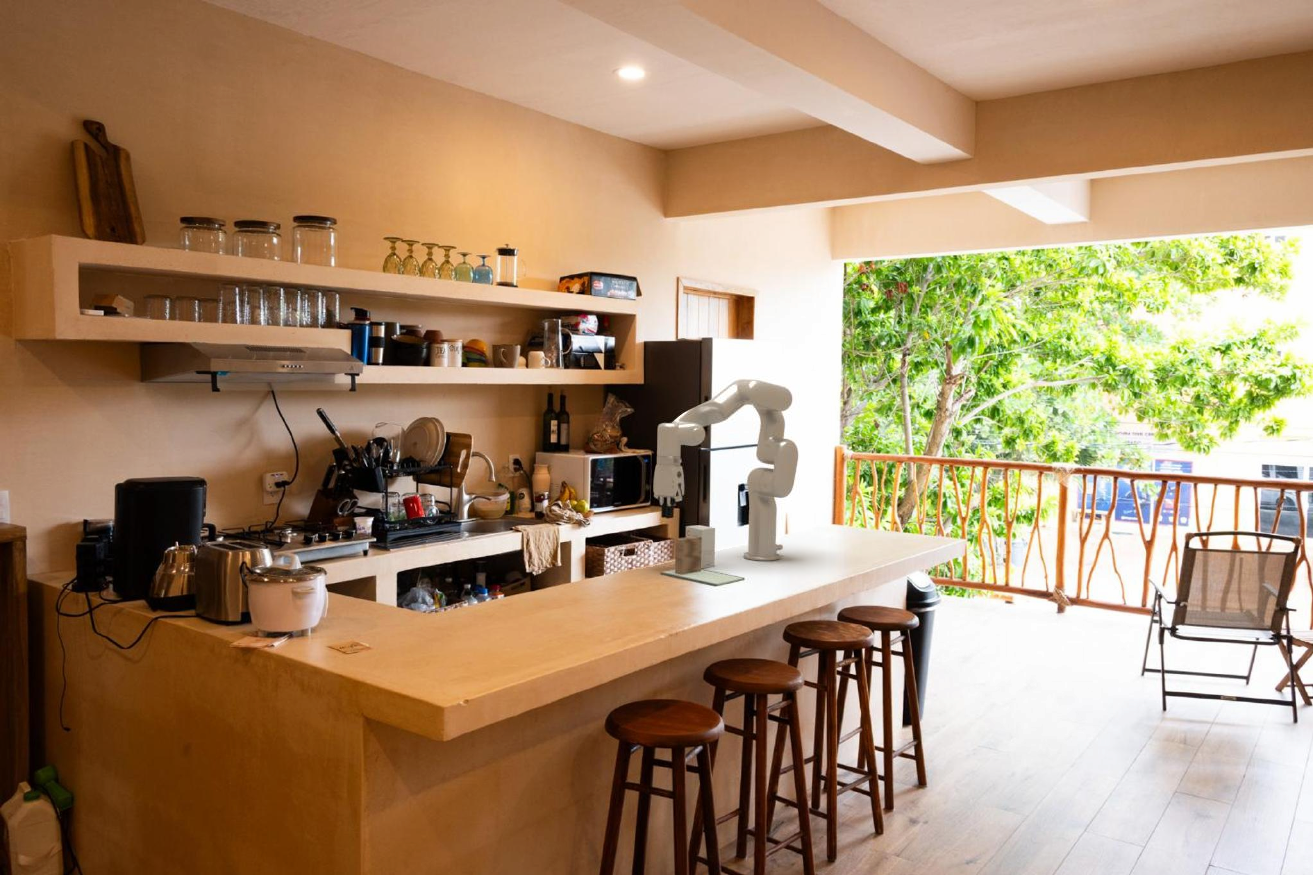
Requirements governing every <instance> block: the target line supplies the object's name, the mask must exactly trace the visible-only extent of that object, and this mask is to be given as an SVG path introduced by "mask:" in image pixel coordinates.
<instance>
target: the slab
mask: <svg viewBox="0 0 1313 875" xmlns="http://www.w3.org/2000/svg"><path fill="white" fill-rule="evenodd" d="M701 546H702V537H698V536H691V537H686V536H685V537H680V538H675V553H674V554H675V557H674V558H675V559H674V560H675V561H674V562H675V563H674V570H675V573H676V574H681V575H683V574H688V573H693V572H698V571H701V569H702V568H701Z"/></svg>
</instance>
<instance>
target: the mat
mask: <svg viewBox="0 0 1313 875" xmlns="http://www.w3.org/2000/svg"><path fill="white" fill-rule="evenodd" d="M659 573H660V574H659V575H662V576H668V577H671V578H677V579H679V580H685V581H690V582H694V583H699V584H703V585H708V586H712V587H719V586H723V585H727V584H732V583H736V582H741V581H745V577H742V576H738V575H732V574H728V573H723V572H719V571H715V570H714V571H713V570H707V569H705V568H701V571H698V572H693V573H688V574H683V575H681V574H676V573H675V569H671V570H665V571H660V572H659Z"/></svg>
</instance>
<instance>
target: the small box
mask: <svg viewBox="0 0 1313 875" xmlns="http://www.w3.org/2000/svg"><path fill="white" fill-rule="evenodd" d="M691 536H698V537H702V546H701V569H705V568H711V567H712V568H713V567H715V566H716V565H715V560H716V559H715V557H716V556H715V554H716V553H715V552H716V550H715V548H716V528H715V527H712V526H705V525H702V524H701V525H700V524H698V525H687V526H685V537H691Z"/></svg>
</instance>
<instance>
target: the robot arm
mask: <svg viewBox="0 0 1313 875" xmlns="http://www.w3.org/2000/svg"><path fill="white" fill-rule="evenodd" d="M792 403H793V394H792V392H791V391H790V389H788V388H787V387H786V386H782V385H778V384H774V383H771V382H767V381H763V380H759V379H737V380H734V381H733V382H732V383H730V384H729V385H728V386H726V388H724V389H722V390H721V391H720V392H719V393H717V394H716V395H715V396H714V397H712V398H711V399H709V400H707V401H705V402H703V403H701V404H698V405H697V406H695V407H692V408H691V409H689V410H687V411H685V412H682V414H681V415H679V416H677V417H676V419H674V420H673V421H672V422H669V423H668V422H663V423H660V424H658V425H657V438H656V439H657V440H656V441H657V447H656V448H657V450H656V454H657V455H656V465H655V469H654V475H653V497H654V498H655V499H657V500H658V502H659V505H660V506H661V514H660V516H661V518H663V519H664V518H665V519H673V518H674V517H675V516H674V512H675V510H674V509H675V506H676V504H677V503H678V502H680V501H681V502H682V500H683V496H684V495H685V479H684V477H685V475H684V470H683V466H682V465H681V463H682V458H681V448H682V447H681V446H683V445H684V446H690V447H693V446H698V445H700V444H701V443H702V442H704V440H705V438H706V430H705V429H704V427H707V426H710V425H716V424H719V423H722V422H725V421H726V420H728V419H729V418H730V417H732V416H733V415H734V414H735V413H737V412H738V411H739V410H740V409H742V408H744V406H749V405H751V406H753V408H754V409H755V411H756V413H757V414H758V416H759V419H760V427H759V434H758V440H757V446H756V458H757V460H758V461H759V462H760V463H762V464H764V465H765V464H766V465H772V466H773V468H769V467H757V468H754V469H752V470H751V471H750V472H749V474H748V476H747V479H746V484H747V485H746V487H747V493H748V502H749V503H748V504H749V505H748V506H749V510H748V512H749V513H748V543H747V544H748V546H747V548H748V549H747V550H748V551H746V552H744V553H743V558H745V559H747V560H750V561H751V560H753V561H761V562H762V561H763V562H765V561H766V562H768V561H769V562H770V561H777V560H779V559H780V558H781V557H780V556H781V555H780V554H779V553H777V552H778V551H781V550H783V548H784V546H783V545H782V544H777V542H776V541H777V540H776V539H777V516H778V515H777V511H778V507H777V502H776V499H775V498H778V499H783V498H786V497H788V496H790V494H791V492H792V491H793V489H794V488H793V487H794V485H795V481H796V480H795V478H796V473H797V466H798V461H799V450H798V446H797V444H796V443H795V442H794V441H793V440H792V439H789V438H785V429H786V428H785V427H786V421H785V417H784V415H783V412H785V411H787V410H788V409H790V407H791V406H792Z"/></svg>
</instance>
